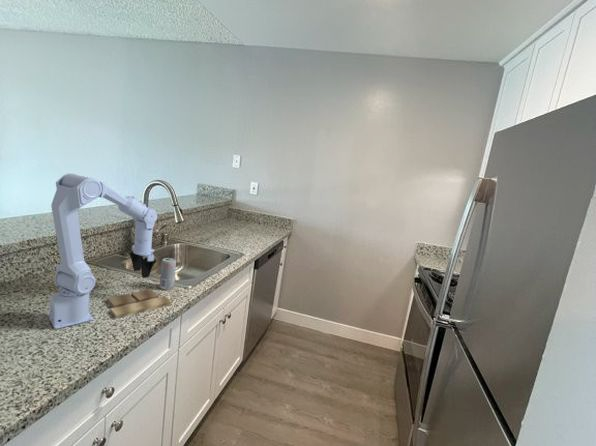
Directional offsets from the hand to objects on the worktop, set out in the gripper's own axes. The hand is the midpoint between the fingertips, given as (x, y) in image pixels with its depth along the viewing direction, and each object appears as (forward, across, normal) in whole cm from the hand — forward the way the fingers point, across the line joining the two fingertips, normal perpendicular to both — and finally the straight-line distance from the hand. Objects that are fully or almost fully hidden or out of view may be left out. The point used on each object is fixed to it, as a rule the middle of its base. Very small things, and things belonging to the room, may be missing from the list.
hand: (141, 273), depth 112 cm
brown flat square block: (+8, -4, +8) cm, 12 cm away
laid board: (+8, -12, +4) cm, 15 cm away
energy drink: (+8, 0, -11) cm, 13 cm away
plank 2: (+8, -4, 0) cm, 9 cm away
